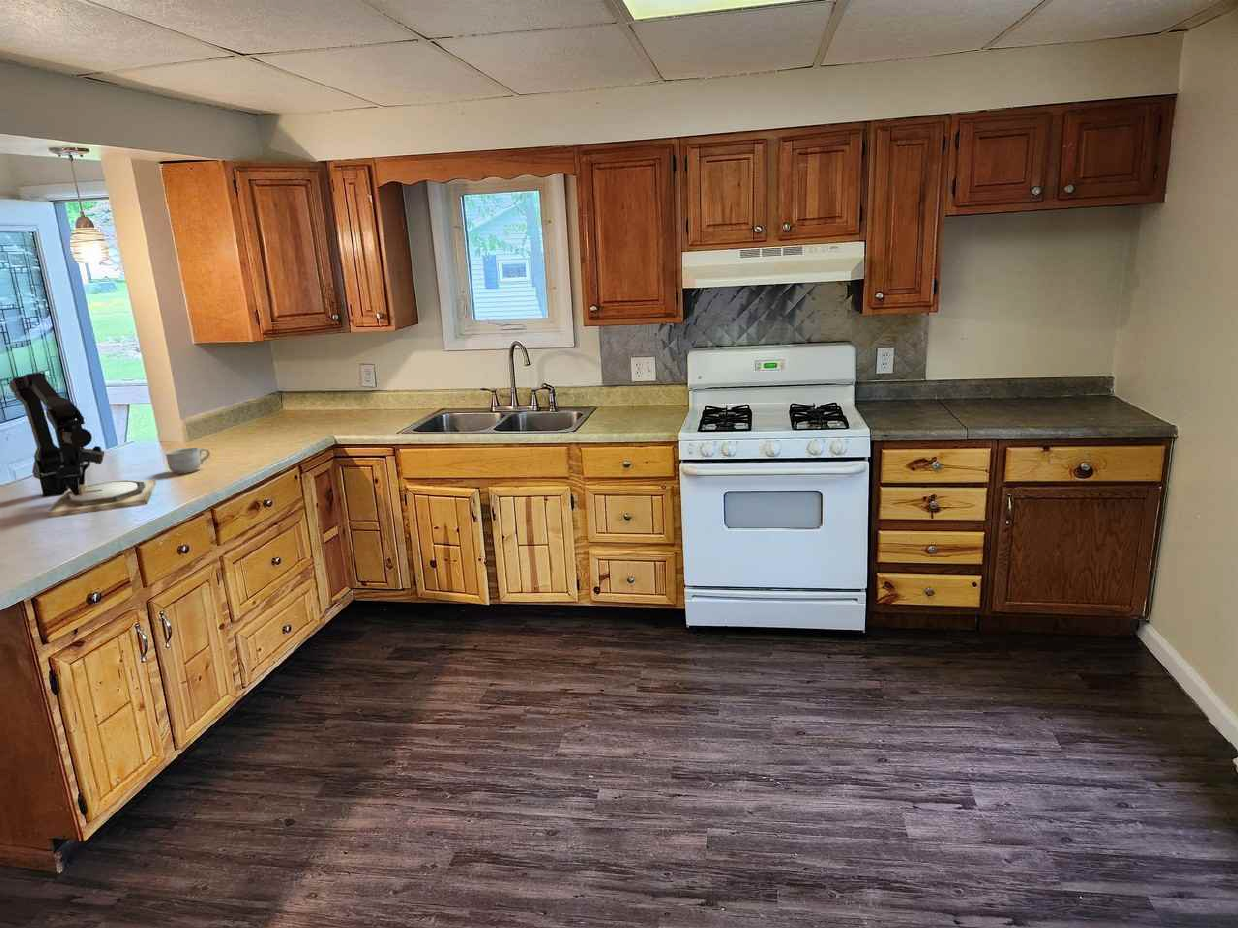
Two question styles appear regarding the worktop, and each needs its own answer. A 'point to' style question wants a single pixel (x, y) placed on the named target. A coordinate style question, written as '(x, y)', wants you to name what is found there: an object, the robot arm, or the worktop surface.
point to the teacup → (186, 459)
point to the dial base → (103, 500)
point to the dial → (103, 490)
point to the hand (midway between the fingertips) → (79, 491)
